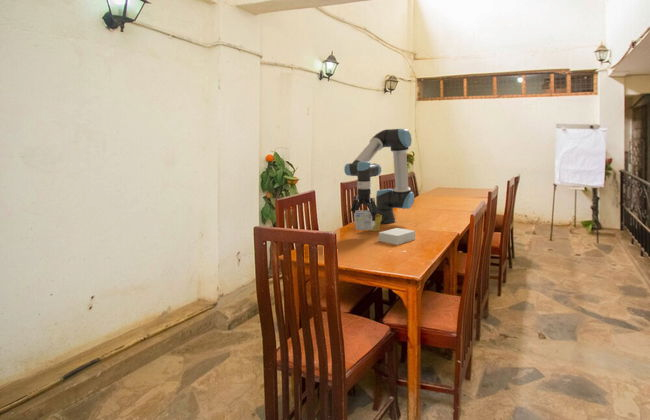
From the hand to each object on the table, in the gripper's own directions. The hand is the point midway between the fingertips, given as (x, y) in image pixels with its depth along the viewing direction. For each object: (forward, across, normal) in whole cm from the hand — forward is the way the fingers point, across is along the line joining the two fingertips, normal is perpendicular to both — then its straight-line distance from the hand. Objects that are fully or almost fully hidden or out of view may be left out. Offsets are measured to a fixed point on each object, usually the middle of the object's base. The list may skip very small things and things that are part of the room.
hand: (364, 224), depth 237 cm
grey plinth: (+8, +18, +8) cm, 21 cm away
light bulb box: (+3, 0, 0) cm, 3 cm away
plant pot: (+8, -9, +20) cm, 23 cm away
